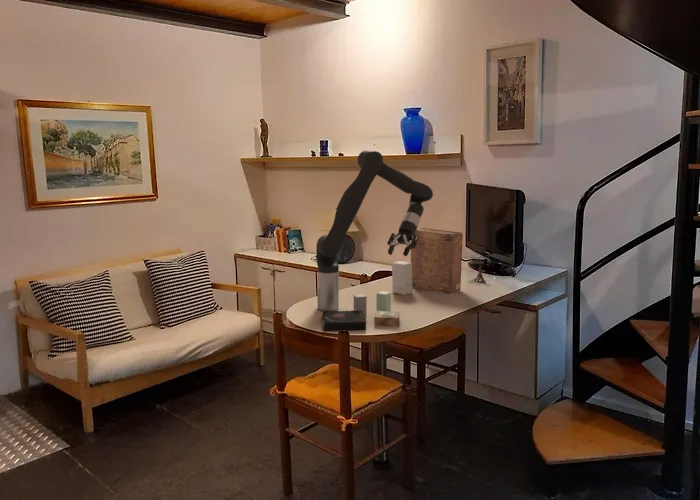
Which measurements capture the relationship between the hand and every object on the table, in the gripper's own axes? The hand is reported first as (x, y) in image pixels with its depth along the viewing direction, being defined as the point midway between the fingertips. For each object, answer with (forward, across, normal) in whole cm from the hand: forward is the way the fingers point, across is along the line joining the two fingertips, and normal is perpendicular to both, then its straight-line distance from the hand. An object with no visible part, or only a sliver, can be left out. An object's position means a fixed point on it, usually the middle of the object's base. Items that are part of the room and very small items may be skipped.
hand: (397, 254), depth 269 cm
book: (-8, -10, +50) cm, 52 cm away
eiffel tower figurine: (-25, -2, +74) cm, 78 cm away
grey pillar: (+32, -5, -1) cm, 32 cm away
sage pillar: (+25, -1, +8) cm, 26 cm away
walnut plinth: (+33, +10, 0) cm, 34 cm away
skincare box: (+4, -17, +34) cm, 38 cm away
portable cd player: (+42, -2, -12) cm, 43 cm away
